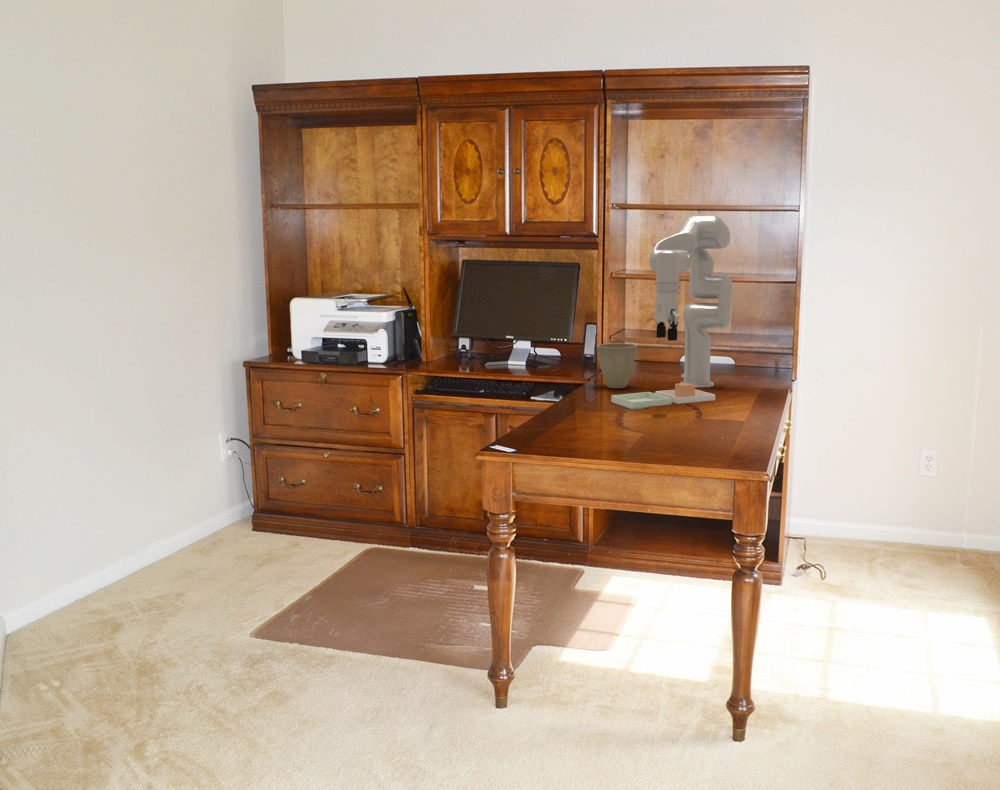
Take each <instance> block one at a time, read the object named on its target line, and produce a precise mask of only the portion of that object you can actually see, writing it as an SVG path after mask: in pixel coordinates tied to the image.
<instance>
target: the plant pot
mask: <svg viewBox="0 0 1000 790" xmlns="http://www.w3.org/2000/svg"><path fill="white" fill-rule="evenodd" d="M596 348H597V354H598V361H599V366H600V369H601V370H600V371H601V373H602V376H603V377H602V378H603V380H604V382H605V385H606V388H609V389H625V388H627V386H628V384H629V381H630V378H631V376H632V372H633V367H634V363H635V359H636V355H637V353H636V352H637V348H638V347H637V344H632V343H619V342H617V343H616V342H615V343H614V342H613V343H603V344H602V343H601V344H597V345H596Z"/></svg>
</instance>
